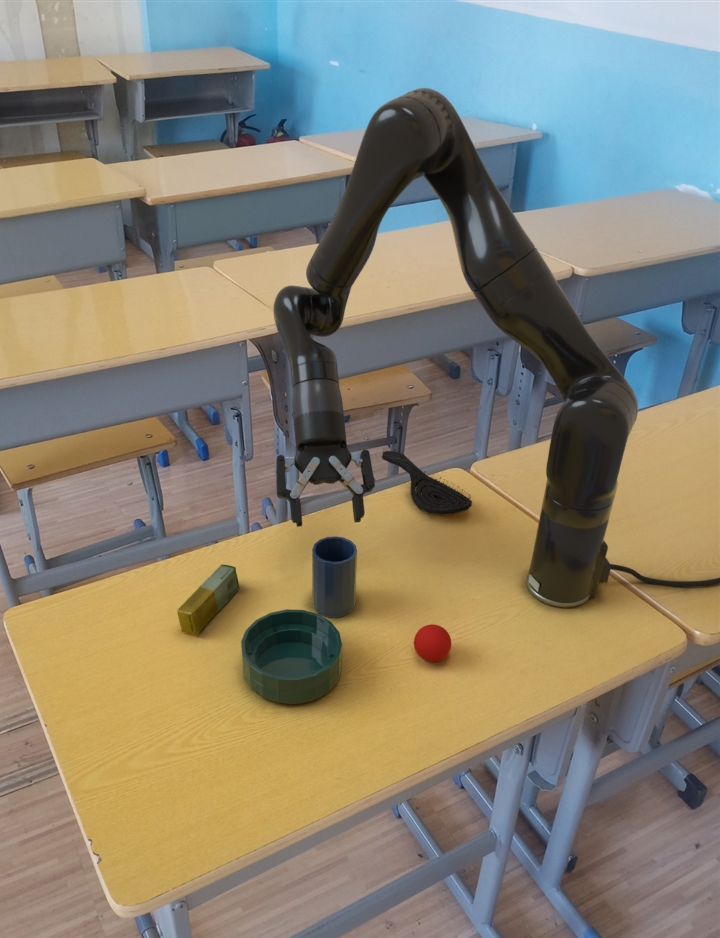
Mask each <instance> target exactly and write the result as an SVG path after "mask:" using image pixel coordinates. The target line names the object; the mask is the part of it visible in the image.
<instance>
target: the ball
mask: <svg viewBox="0 0 720 938" xmlns="http://www.w3.org/2000/svg"><path fill="white" fill-rule="evenodd" d="M413 646H414V650H415V652H416V654H417V656H419V657H420V658H421V659H422V660H424V661H426V662H429V663H430V662H431V663H435V662H436V663H437V662H440V661H442V660H444V659H445V658H446V657H447V656H448V655H449V654H450V652H451V649H452V639H451V635H450V633H449V632H448V631H447V629H445V628H444V627H443V626H441V625H438V624H435V623H434V624H433V623H430V624H426V625H423V626H422V627H421V628H419V629H418V630H417V631H416V633H415V636H414V638H413Z"/></svg>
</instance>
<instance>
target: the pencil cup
mask: <svg viewBox="0 0 720 938" xmlns="http://www.w3.org/2000/svg"><path fill="white" fill-rule="evenodd" d="M311 552H312V553H311V560H312V561H311V563H312V564H311V566H312V567H311V568H312V569H311V570H312V571H311V575H312V577H311V580H312V584H311V585H312V587H311V588H312V598H311V599H312V607H313V609H314V611H315V612H316V613H317V614H319V615H321V616H323V617H325V618H332V619H333V618H334V619H337V618H338V619H339V618H342V617H346V616H347V615H349V614H351V613H352V612H353V610H354V609H355V607H356V599H357V597H356V596H357V569H358V567H357V566H358V548H357V545H356V544H355V543H354V542H353V541H352V540H351V539H349V538H346V537H343V536H338V535H337V536H335V535H334V536H327V537H323V538H320V539H318V540H317V541H316V542H315V543H314V544H313V546H312V549H311Z"/></svg>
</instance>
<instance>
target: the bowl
mask: <svg viewBox="0 0 720 938" xmlns="http://www.w3.org/2000/svg"><path fill="white" fill-rule="evenodd" d="M240 645H241V647H240V648H241V657H242V658H241V659H242V671H243V672H242V673H243V679H244V680H245V682H246V684H247V685H248V687H249V689H250V690H252V692H254V693H255V694H257V695H258V696H260V697H261V698H262V699H264V700H268V701H272V702H274V703H278V704H285V705H287V704H289V705H298V704H303V703H307V702H311V701H315V700H317V699H320V698H321V697H323V696H324V695H326V694H327V693H329V692H330V691H331V690H332V689H333V687H334V686H335V685H336V684H337V683H338V682H339V680H340V676H341V672H342V668H343V642H342V637H341V633H340V631H339V630H338V628H337V627H336V626H335V624H334V623H333V622H332V621H331V620H330V619H328V618H327V617H325V616H323V615H321V614H319V613H317V612H313V611H309V610H306V609H291V608H290V609H280V610H277V611H273V612H269V613H267V614H265V615H263V616H261V617H259V618H257V619H256V620H254V621H253V622H252V623H251V624H250V625H249V626H248V627H247V628H246V629H245V632H244V633H243V636H242V638H241V641H240Z"/></svg>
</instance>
